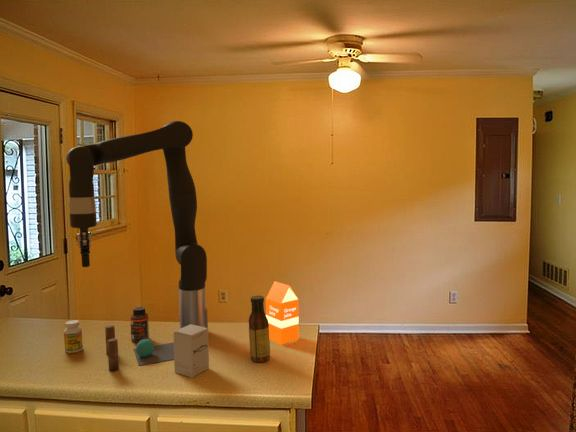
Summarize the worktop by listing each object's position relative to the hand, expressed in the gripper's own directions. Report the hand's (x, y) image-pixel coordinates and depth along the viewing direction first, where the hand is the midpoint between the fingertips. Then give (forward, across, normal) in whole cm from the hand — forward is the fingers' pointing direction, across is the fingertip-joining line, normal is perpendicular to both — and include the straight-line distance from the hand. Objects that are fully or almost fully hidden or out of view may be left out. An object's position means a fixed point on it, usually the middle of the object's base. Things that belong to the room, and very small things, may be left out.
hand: (85, 266), depth 144 cm
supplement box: (+29, -25, -27) cm, 47 cm away
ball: (+26, -9, -16) cm, 32 cm away
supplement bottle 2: (+29, +7, -16) cm, 34 cm away
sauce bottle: (+29, -26, -48) cm, 62 cm away
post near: (+29, -14, -6) cm, 33 cm away
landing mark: (+29, -8, -20) cm, 36 cm away
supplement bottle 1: (+29, +7, +5) cm, 30 cm away
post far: (+29, -2, -6) cm, 30 cm away
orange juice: (+29, -14, -61) cm, 69 cm away
